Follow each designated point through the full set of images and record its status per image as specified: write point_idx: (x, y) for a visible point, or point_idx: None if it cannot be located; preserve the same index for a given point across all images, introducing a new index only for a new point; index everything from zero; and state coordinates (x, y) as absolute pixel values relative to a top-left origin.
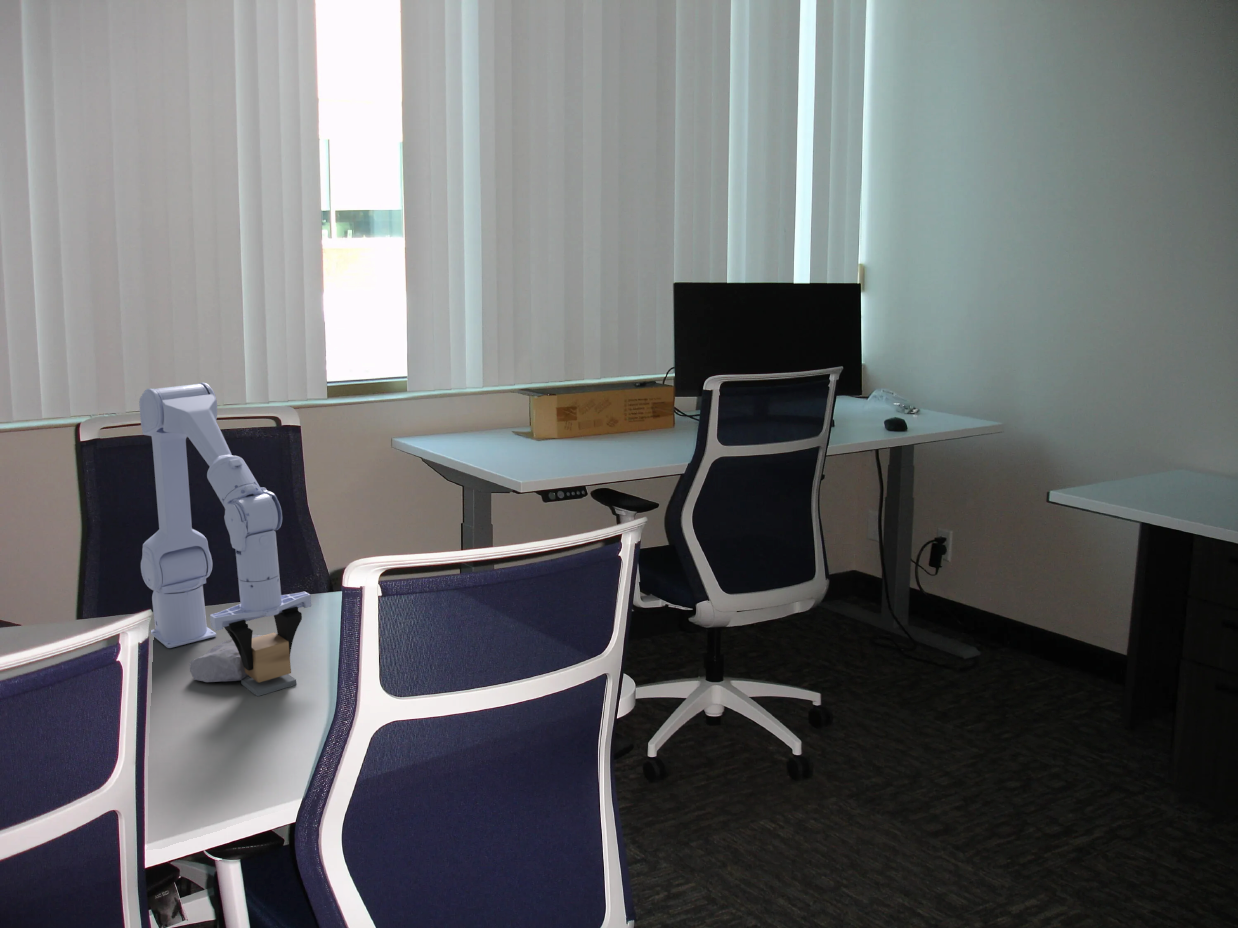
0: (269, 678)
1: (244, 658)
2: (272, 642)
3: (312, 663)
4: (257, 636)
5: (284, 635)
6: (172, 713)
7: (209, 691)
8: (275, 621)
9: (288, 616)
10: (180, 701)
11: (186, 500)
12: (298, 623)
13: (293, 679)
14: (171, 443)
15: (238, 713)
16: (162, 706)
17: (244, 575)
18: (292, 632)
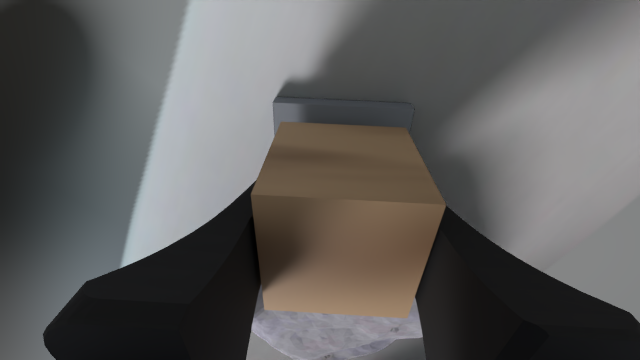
0: (364, 126)
1: None
2: (323, 234)
3: (187, 195)
4: (278, 340)
5: (246, 252)
6: (625, 169)
7: (466, 220)
8: (245, 357)
9: (166, 348)
10: (549, 217)
11: None
12: (131, 267)
13: (279, 109)
14: None
15: (542, 14)
16: (593, 221)
17: None
18: (202, 237)
